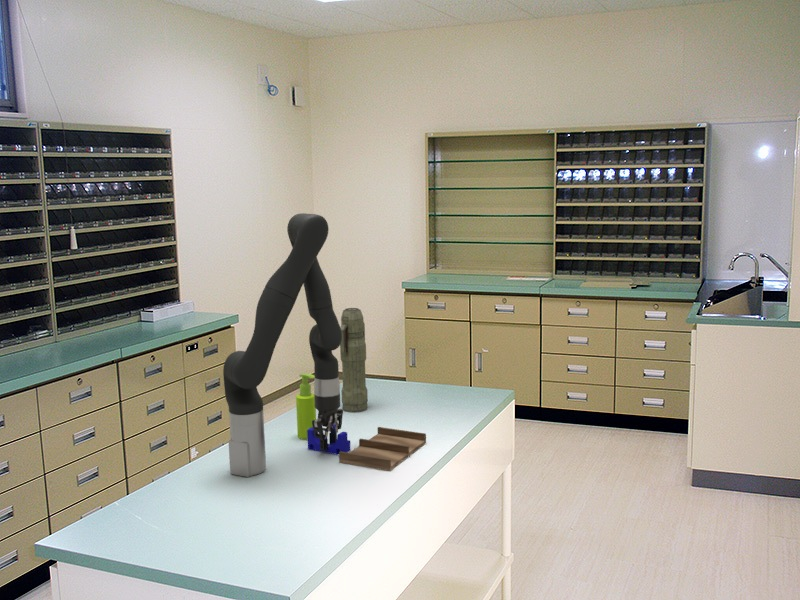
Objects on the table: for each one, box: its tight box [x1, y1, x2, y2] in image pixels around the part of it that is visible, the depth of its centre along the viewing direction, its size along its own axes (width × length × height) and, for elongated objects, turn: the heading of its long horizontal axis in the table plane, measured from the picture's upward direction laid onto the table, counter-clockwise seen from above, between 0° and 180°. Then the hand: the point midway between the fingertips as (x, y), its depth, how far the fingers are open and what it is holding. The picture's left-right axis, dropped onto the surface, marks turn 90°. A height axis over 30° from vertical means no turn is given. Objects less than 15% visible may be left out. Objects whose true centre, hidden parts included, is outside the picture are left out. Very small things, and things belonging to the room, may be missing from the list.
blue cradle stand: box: [307, 427, 351, 455], centre depth 231 cm, size 12×4×6 cm, turn 62°
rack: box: [338, 426, 427, 472], centre depth 228 cm, size 24×16×3 cm, turn 154°
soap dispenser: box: [295, 372, 317, 441], centre depth 241 cm, size 6×7×20 cm
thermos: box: [339, 307, 369, 413], centre depth 268 cm, size 9×12×35 cm
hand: (328, 447), depth 231 cm, fingers closed on blue cradle stand, 4 cm apart
